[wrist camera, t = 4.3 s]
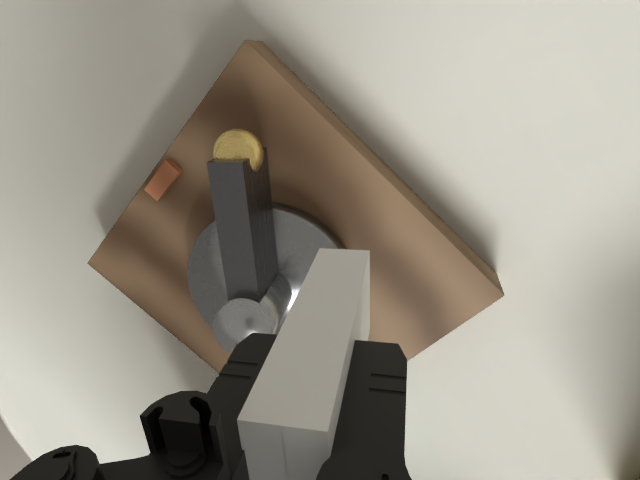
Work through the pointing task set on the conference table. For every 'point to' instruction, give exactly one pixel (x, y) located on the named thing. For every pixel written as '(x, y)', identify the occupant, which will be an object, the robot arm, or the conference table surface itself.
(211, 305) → the dial
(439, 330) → the walnut base
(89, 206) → the conference table surface
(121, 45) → the conference table surface
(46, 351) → the conference table surface
